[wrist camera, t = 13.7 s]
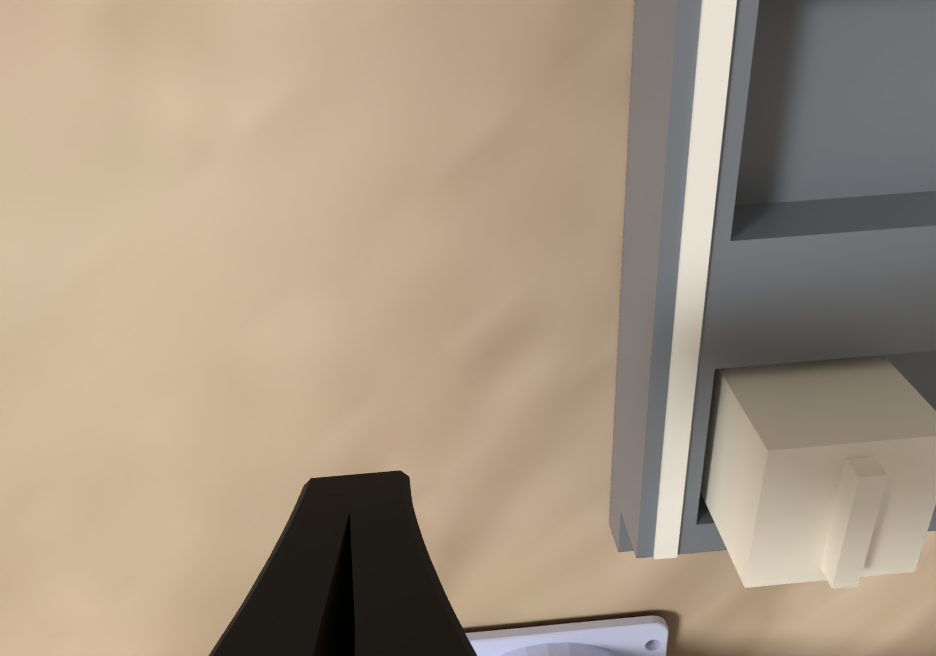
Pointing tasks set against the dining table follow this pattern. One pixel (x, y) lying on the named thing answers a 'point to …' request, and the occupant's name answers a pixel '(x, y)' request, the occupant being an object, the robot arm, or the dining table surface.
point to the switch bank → (765, 223)
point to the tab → (820, 470)
